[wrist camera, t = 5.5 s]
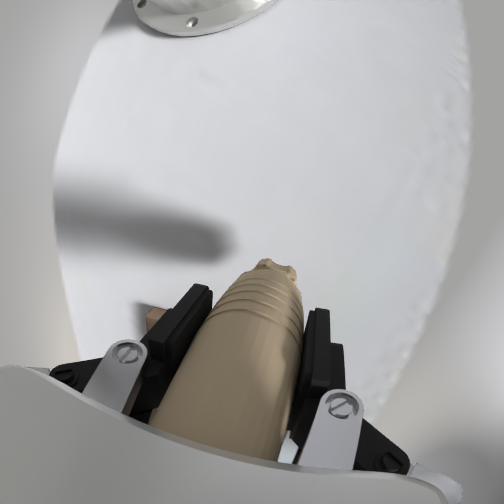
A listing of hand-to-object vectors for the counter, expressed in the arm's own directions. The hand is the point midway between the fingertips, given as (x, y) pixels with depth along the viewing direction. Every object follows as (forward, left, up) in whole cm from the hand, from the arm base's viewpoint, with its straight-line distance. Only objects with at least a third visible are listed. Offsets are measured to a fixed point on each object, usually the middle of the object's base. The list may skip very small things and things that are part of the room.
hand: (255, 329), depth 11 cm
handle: (0, 0, -4) cm, 4 cm away
